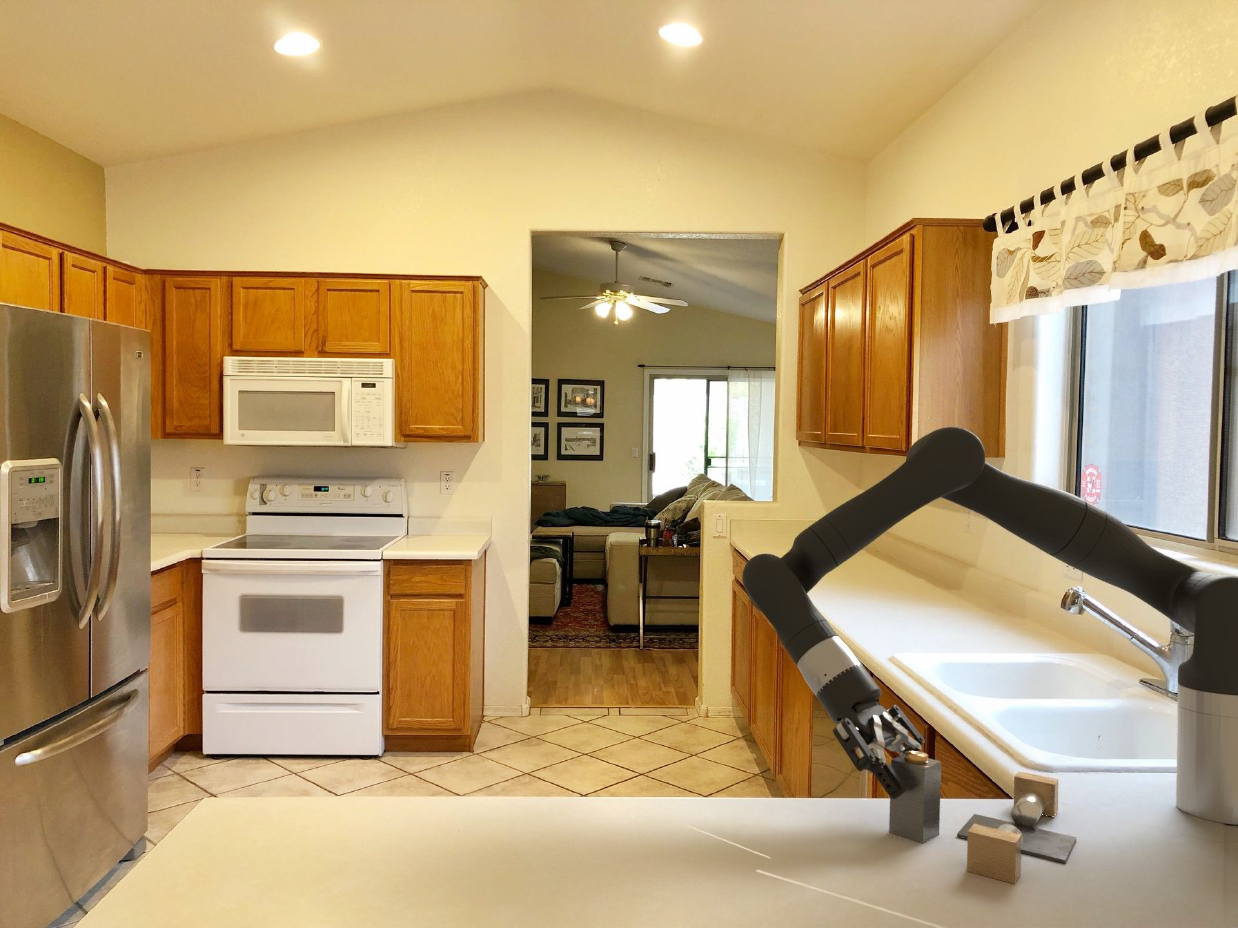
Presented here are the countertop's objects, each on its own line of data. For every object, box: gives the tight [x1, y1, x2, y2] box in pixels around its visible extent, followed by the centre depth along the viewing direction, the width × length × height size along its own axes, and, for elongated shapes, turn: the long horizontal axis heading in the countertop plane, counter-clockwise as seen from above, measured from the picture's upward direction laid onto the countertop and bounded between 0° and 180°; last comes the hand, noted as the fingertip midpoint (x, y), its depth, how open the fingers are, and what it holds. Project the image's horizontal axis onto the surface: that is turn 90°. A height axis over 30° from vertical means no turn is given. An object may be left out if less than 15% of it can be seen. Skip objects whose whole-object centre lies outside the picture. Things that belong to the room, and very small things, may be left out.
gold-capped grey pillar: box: [888, 751, 942, 845], centre depth 107 cm, size 4×4×10 cm
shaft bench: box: [956, 771, 1077, 885], centre depth 107 cm, size 29×12×4 cm, turn 145°
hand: (916, 787), depth 107 cm, fingers open, 8 cm apart
